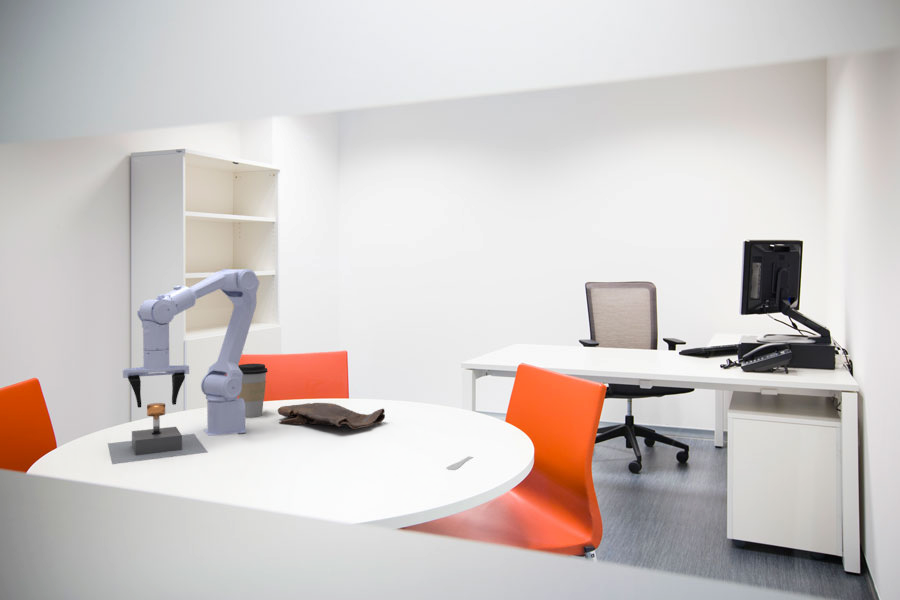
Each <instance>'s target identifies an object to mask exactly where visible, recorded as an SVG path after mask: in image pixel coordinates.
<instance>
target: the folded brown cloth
mask: <svg viewBox="0 0 900 600" xmlns="http://www.w3.org/2000/svg"><path fill="white" fill-rule="evenodd" d="M385 411H386V410H385V408H380V409H377V410H374V412H372V413H369V414H364V413H358V412H356V411H354V410H351V409H348V408H346V407H345V406H344V407H343V406H341V405H339V404H336V403H330V402H313V403H309V402H308V403H303V404H301V403H300V404H293V405H292V404H291V405H284V406H280V407H279V408H277V413H278V415H281V416H283V417H285V418H286V419H282V420H281V421H279V422H278V423H279V424H283V425H284V424H290V425H305V424H307V423H309V424H311V425H324V426H329V425H330V426H337V427H339V428H340V427H341V426H343V427H350V428H351V429H353V430H354V429H355V430H357V429H359V428H366V427H367V428H368V427H370V426H373V425H375V424H380V423H382V422H383V421H384V420H385V418H386V415H385Z"/></svg>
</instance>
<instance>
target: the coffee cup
mask: <svg viewBox="0 0 900 600" xmlns="http://www.w3.org/2000/svg"><path fill="white" fill-rule="evenodd" d="M238 367H239V369H240V370H241V371H242V373H243V377H242V390H241V393H240V394H239V396H238V398H243V399H244V402H245V418H257V417H261V416H262V415H263V408H264V401H265V394H266V393H265V392H266V384H267V380H266V379H267V373H268V368H267V367H266V364H264V363H245V364H244V363H242V364H239V365H238Z"/></svg>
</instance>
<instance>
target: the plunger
mask: <svg viewBox="0 0 900 600" xmlns="http://www.w3.org/2000/svg"><path fill="white" fill-rule="evenodd" d="M146 415H147V416H146V417H152V427H153V428H152V429H153V434H160V428H161V425H160V422H161V421H160V420H161V419H160V417H161V416H165V415H166V403H164V402H154V403H149V404H146Z"/></svg>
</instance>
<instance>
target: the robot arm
mask: <svg viewBox="0 0 900 600" xmlns="http://www.w3.org/2000/svg"><path fill="white" fill-rule="evenodd" d="M259 285H260V280H259V279H258V276H257V274H256V273H255V271H254V270H252V269H251V268H244V269H242V268H241V269H237V268H236V269H235V268H234V269H232V268H231V269H230V268H224V269H221V270H219V271H215V272H214V273H213V274H212V275H209V276H208V277H206V278H204V279H202V280H201V281H199V282H197V283H195V284H193V285H192V286H190V287H188V286H186V285H175V286H173V287H172V288H173V289H172V290H170V291H168V292H166V293H160V294H158V295H157V297H156V299H146V300H144V301H143V302H142V303H141V305H140V307H139V310H137V312H136V313H137V314H136V315H137V317H138V319H139V320H140V322H141V328H142V334H143V335H142V340H143V341H142V346H143V347H142V349H143V350H142V351H143V355H142V356H143V357H142V359H143V360H142V361H143V366H142V367H141V366H140V367H132V368H122V377H123V378H124V379H127V380H128V382H129V383H130V386H131V388H132V390H133V392H134V395H135V400H136V404H137V408H142V397H141V387H142V386H141V384H142V381H141V377H153V376H168V375H171V382H172V385H171V386H172V387H171V389H172V393H171V404H172V405H173V406H174V405H175V406H176V405H177V401H178V395H179V392H180V390H181V388H182V385H183V382H184V381H185V377H186V375H190V366H189V365H188V364H183V365H170V323H171V322H172V321H173V319H174V318H175V316H177V315H179V314H180V313H182V312H184V311H187V310H188V309H191V308H193V307H194V306H195V305H196V301H197V299H198V300H199V299H200V298H202V297H204V296H206V295H209V294H211V293H213V292H216V291H219V290H220V291H221V292H222V293H223V294H224V295H225V296H226V297H227V298H228V299H229V300H230V301H231V303H232V304H233V309H232V311H231V312H232V313H231V315H230V319H229V322H228V325H227V329H226V331H225V335H224V337H223V342H222V345H221V348H220V351H219V355H218V358H217V360H216V362H214V363H212V365H211V366H209V367H208V370H207V373H206V374H205V375H204V376H203V378H202V380H201V382H200V389H201V392H202V393H203V394H204V395H205V399H206V400H207V401H206V404H207V407H206V410H207V414H206V416H207V417H206V419H207V428H204V429H203V431H204V432H205V433H206V434H207V435H208V436H209V437H212V436H221V435H228V434H245V433H247V429H246V417H245V402H244V399H243V398H239V394H240V393H241V390H242V377H243V373H242V371H241V370H240V369H239V367H238V365H240V364H239V363H240V360H241V358H242V354H243V351H244V349H245V348H244V347H245V344H246V340H247V337H248V335H249V330H250V327H251V326H252V325H251V324H252V321H253V318H254V314H255V312H256V307H257V293H258V292H257V291H258V289H259Z"/></svg>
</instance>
